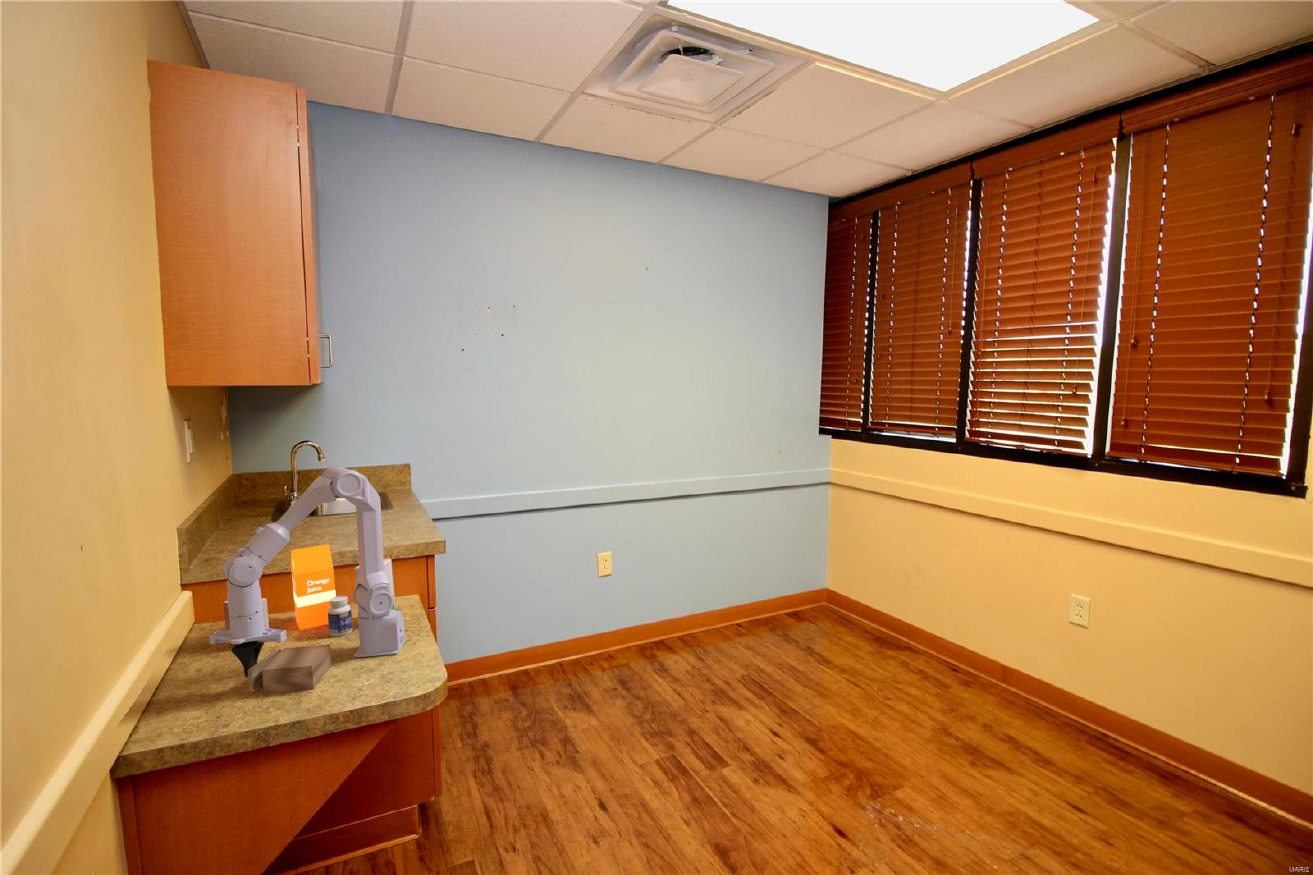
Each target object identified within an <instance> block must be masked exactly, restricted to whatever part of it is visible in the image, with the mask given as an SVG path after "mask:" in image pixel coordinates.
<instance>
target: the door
mask: <svg viewBox="0 0 1313 875" xmlns="http://www.w3.org/2000/svg"><path fill="white" fill-rule="evenodd" d="M281 650H282V649H280V648H279V649H275V650H273V651H271V652H270V653H269V654H268V655H267V656H265V657H263V658H262V659H261V660H260V661H257V664H256V665H254V666H253V667H251V668H250V669H249V670H248V688H249V692H253V693H254V692H256V691H257V690H258V689H259V688H260V687H262V686H263V678H262V669H263V668H264V667H265V666H266V665H267V664H268V663H269V662H270V661H271V660H272V659H273V658H274V657H275V656H276V655H277V654H278V653H279V652H280V651H281Z"/></svg>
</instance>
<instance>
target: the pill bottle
mask: <svg viewBox="0 0 1313 875" xmlns="http://www.w3.org/2000/svg"><path fill="white" fill-rule="evenodd" d="M348 603H349V598H348V596H347V595H336V597H333V598H331V599H330V606H331V607H330V608H329V609H328V625H327V626H328V633H329V636H331V637H341V636H345V635H348V634H351V633H352V631H353V618H352V617H353V615H352V607H351V605H350V604H348Z"/></svg>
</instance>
